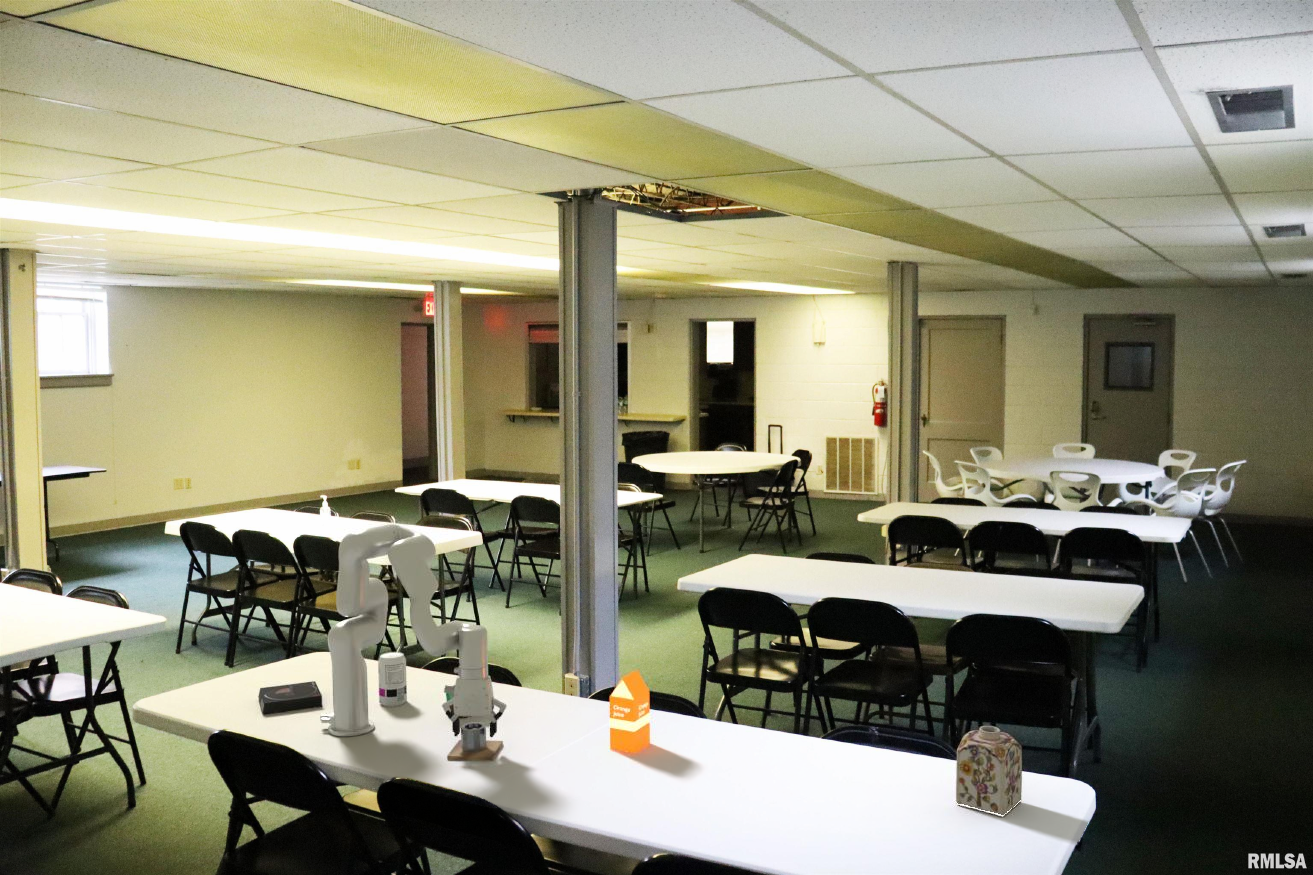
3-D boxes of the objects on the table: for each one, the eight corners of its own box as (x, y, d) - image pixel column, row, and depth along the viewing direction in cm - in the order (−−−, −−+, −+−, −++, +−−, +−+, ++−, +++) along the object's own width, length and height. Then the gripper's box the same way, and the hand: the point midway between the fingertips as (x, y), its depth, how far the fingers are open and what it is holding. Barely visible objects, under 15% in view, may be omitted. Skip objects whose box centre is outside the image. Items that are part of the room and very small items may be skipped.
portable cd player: (258, 700, 331) (258, 688, 331) (315, 693, 338) (315, 681, 338) (262, 716, 316) (262, 703, 316) (322, 708, 323) (321, 695, 323)
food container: (458, 723, 307) (458, 689, 307) (444, 719, 311) (443, 685, 310) (489, 712, 317) (489, 679, 317) (475, 708, 321) (475, 675, 320)
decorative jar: (974, 789, 257) (975, 716, 255) (1022, 802, 249) (1023, 727, 248) (954, 805, 248) (955, 730, 246) (1003, 819, 240) (1004, 741, 239)
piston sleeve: (458, 752, 282) (458, 730, 281) (465, 743, 288) (464, 722, 288) (482, 752, 281) (482, 730, 281) (488, 744, 287) (488, 722, 287)
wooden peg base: (447, 759, 279) (446, 737, 279) (459, 743, 291) (459, 721, 291) (492, 760, 278) (491, 738, 278) (502, 744, 290) (502, 722, 290)
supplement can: (374, 706, 324) (372, 657, 323) (388, 697, 332) (387, 650, 330) (397, 708, 321) (396, 659, 320) (411, 700, 329) (410, 652, 328)
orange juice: (609, 749, 286) (608, 676, 284) (625, 738, 294) (624, 667, 292) (635, 753, 282) (634, 680, 281) (650, 743, 290) (650, 671, 289)
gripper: (437, 675, 280) (439, 739, 281) (502, 677, 279) (503, 740, 280) (445, 667, 288) (447, 729, 289) (508, 669, 286) (509, 731, 287)
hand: (474, 735), depth 284 cm, fingers open, 9 cm apart
